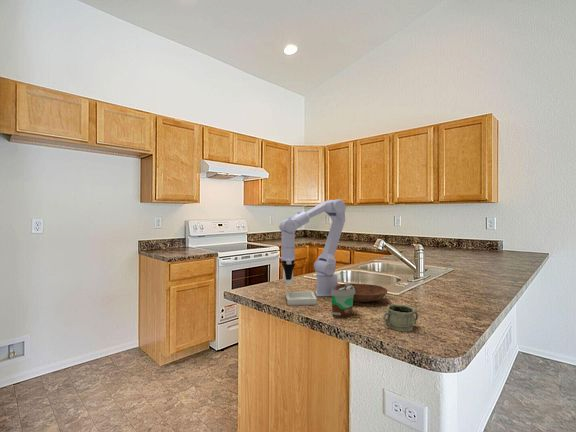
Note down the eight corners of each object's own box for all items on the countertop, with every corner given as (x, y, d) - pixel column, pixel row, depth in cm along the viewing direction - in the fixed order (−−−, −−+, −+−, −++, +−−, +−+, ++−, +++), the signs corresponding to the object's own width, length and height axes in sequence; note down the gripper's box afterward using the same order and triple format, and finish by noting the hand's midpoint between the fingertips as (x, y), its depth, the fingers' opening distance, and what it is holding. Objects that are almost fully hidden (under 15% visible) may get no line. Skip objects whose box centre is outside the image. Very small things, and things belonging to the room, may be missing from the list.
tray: (312, 296, 135) (312, 291, 135) (316, 305, 123) (316, 298, 123) (285, 297, 135) (285, 291, 135) (287, 305, 123) (287, 299, 123)
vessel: (411, 321, 105) (411, 303, 105) (425, 331, 96) (425, 311, 96) (377, 323, 103) (377, 304, 103) (389, 333, 95) (389, 313, 95)
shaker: (292, 282, 134) (292, 266, 134) (293, 284, 130) (293, 268, 129) (283, 282, 134) (282, 266, 134) (282, 284, 130) (282, 268, 130)
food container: (346, 321, 105) (346, 292, 105) (330, 317, 109) (330, 289, 109) (360, 311, 115) (360, 285, 115) (346, 308, 119) (346, 283, 119)
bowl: (390, 308, 119) (390, 296, 119) (333, 305, 123) (333, 293, 123) (384, 295, 138) (384, 284, 138) (336, 292, 142) (336, 282, 142)
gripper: (278, 245, 139) (278, 274, 139) (279, 249, 124) (279, 282, 124) (294, 245, 139) (294, 274, 139) (296, 248, 124) (296, 281, 125)
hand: (288, 278), depth 132 cm, fingers closed on shaker, 4 cm apart
